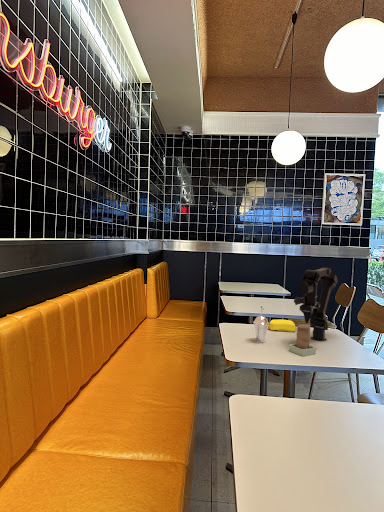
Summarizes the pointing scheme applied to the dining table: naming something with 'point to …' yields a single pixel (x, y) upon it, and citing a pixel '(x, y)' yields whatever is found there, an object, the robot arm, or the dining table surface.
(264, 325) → the cup with straw
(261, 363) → the dining table surface
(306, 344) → the walnut block
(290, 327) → the yellow rounded block
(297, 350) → the green holder
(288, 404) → the dining table surface
